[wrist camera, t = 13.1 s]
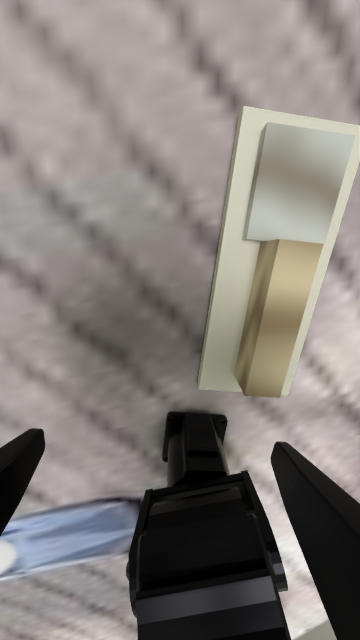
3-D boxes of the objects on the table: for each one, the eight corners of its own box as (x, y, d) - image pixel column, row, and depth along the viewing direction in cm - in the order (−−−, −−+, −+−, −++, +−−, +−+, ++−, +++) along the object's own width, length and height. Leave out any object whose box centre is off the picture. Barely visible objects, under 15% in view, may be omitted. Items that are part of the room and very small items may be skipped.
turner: (279, 378, 20) (297, 398, 17) (218, 374, 20) (226, 394, 17) (343, 143, 15) (385, 115, 12) (261, 130, 14) (283, 98, 11)
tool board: (281, 388, 22) (287, 395, 21) (197, 382, 21) (198, 389, 20) (355, 136, 15) (369, 127, 14) (238, 117, 15) (243, 106, 14)
